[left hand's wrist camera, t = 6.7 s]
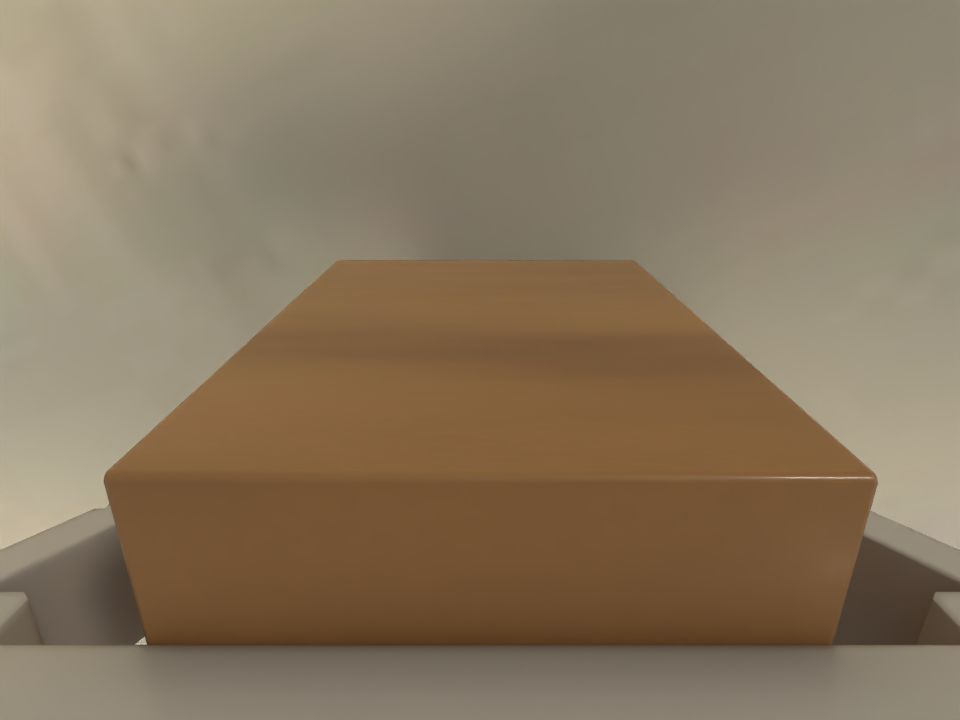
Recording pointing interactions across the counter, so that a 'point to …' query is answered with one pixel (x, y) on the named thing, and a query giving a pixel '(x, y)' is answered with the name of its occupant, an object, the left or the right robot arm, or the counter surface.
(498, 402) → the bar
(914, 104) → the counter surface
